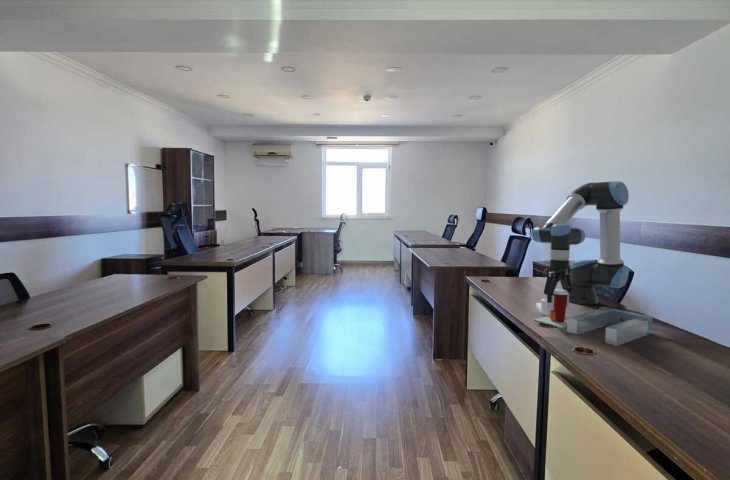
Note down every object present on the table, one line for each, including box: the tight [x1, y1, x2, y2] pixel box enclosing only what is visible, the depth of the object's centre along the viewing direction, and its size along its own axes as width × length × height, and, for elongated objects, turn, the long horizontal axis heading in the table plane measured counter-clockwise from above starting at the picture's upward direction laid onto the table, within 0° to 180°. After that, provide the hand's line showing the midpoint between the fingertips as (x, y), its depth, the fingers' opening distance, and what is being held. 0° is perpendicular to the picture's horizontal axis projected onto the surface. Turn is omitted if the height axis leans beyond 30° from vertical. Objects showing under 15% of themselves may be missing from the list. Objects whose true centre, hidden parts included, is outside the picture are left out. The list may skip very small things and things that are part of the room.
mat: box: [533, 315, 567, 330], centre depth 172 cm, size 14×14×1 cm
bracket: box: [535, 298, 550, 317], centre depth 188 cm, size 20×9×7 cm, turn 165°
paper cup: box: [550, 288, 568, 322], centre depth 172 cm, size 8×8×14 cm
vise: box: [566, 306, 654, 347], centre depth 159 cm, size 37×19×7 cm, turn 121°
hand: (557, 307), depth 172 cm, fingers open, 10 cm apart
